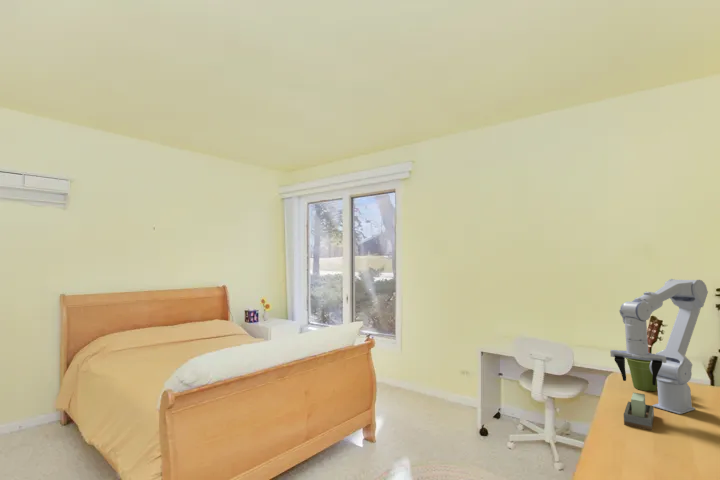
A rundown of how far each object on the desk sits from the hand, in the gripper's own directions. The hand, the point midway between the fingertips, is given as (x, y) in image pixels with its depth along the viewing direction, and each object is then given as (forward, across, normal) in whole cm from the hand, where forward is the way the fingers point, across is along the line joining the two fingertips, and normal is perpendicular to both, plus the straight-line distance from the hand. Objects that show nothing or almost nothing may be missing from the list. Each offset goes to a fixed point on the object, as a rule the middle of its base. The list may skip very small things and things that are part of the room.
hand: (639, 382), depth 123 cm
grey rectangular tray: (+10, 0, -6) cm, 12 cm away
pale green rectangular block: (+9, 0, -6) cm, 11 cm away
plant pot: (+10, 0, +32) cm, 34 cm away
